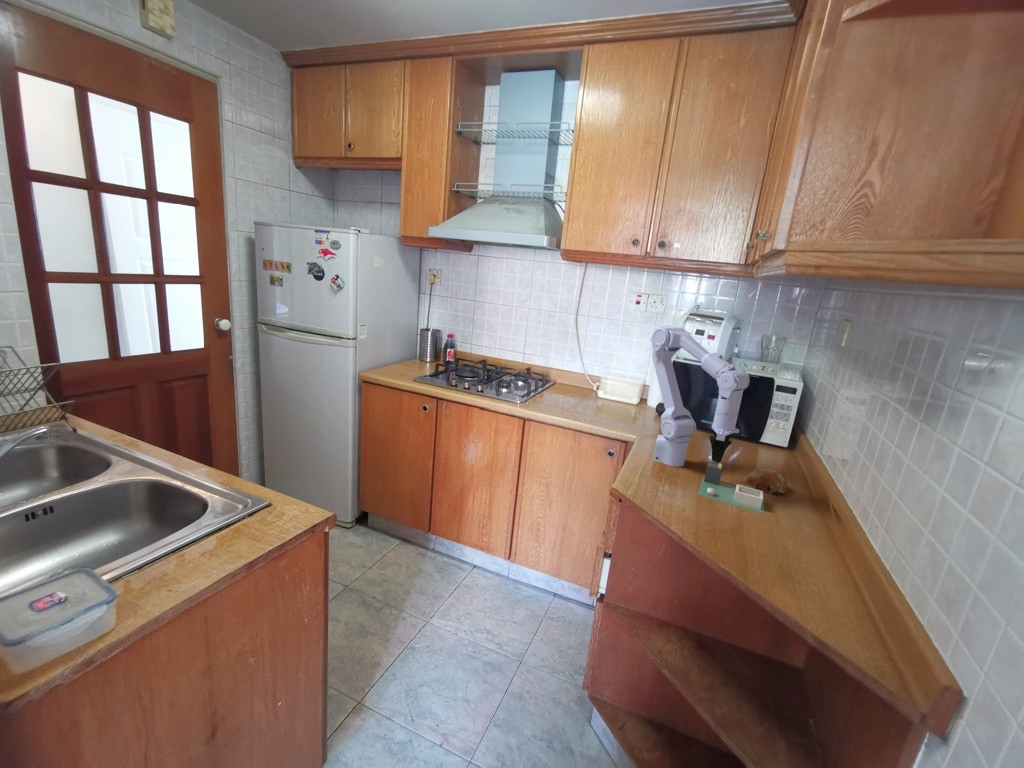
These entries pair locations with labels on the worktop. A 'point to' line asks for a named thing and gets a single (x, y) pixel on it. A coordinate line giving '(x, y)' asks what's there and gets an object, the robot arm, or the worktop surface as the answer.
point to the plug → (713, 473)
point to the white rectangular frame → (748, 496)
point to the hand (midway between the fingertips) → (717, 457)
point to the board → (724, 494)
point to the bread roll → (767, 481)
